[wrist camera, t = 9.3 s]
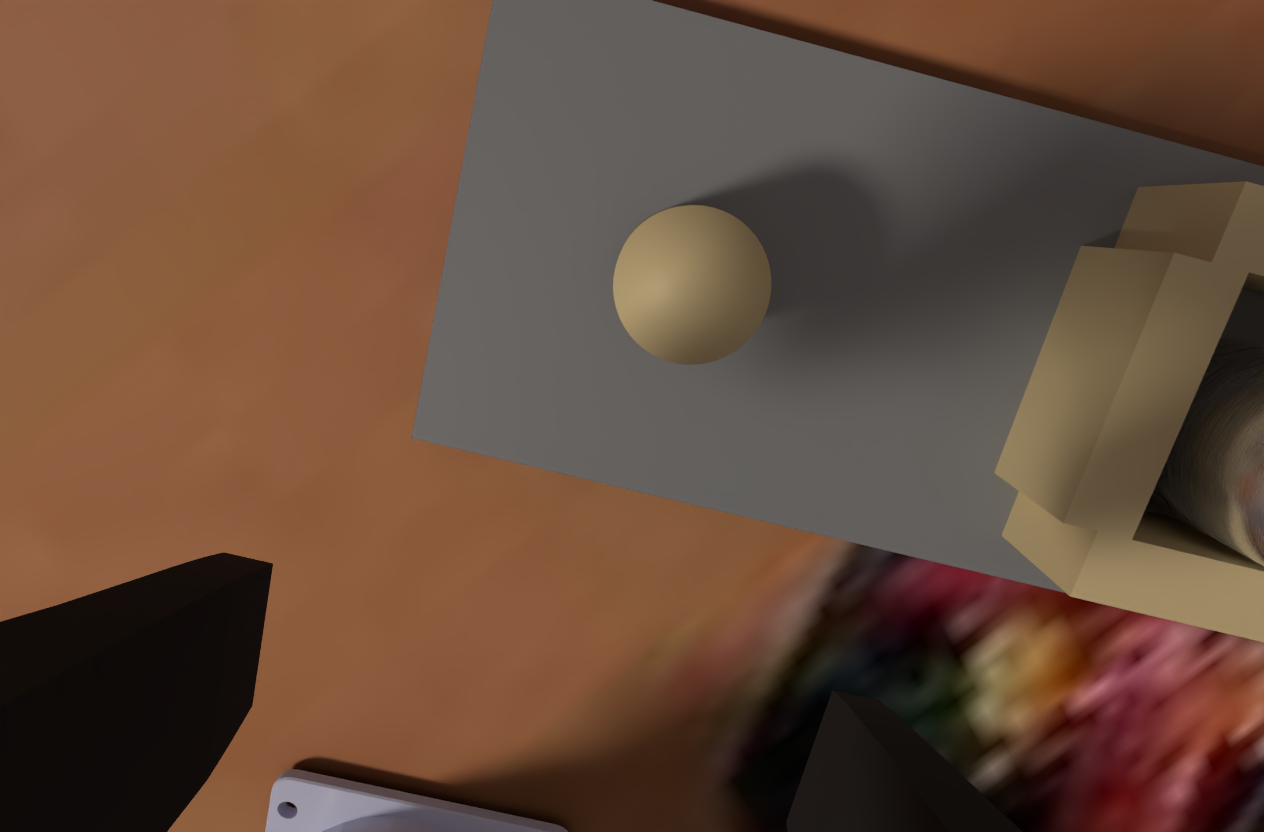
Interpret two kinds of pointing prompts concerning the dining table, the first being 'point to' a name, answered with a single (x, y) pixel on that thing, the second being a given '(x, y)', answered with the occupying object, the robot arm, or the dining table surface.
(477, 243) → the board
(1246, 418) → the cylinder
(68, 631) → the robot arm
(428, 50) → the dining table surface
